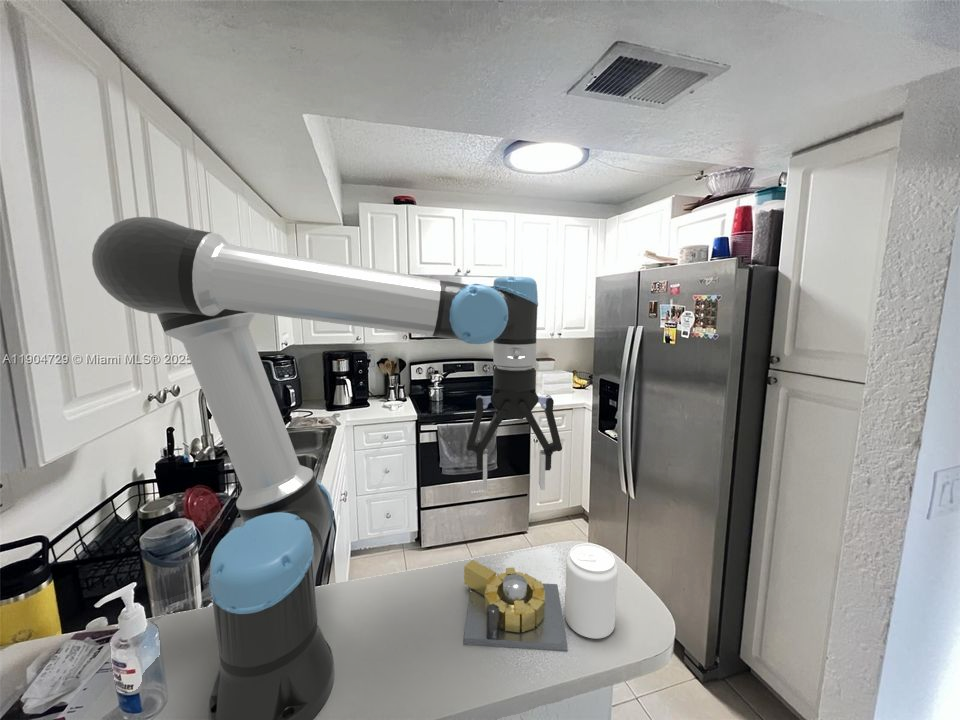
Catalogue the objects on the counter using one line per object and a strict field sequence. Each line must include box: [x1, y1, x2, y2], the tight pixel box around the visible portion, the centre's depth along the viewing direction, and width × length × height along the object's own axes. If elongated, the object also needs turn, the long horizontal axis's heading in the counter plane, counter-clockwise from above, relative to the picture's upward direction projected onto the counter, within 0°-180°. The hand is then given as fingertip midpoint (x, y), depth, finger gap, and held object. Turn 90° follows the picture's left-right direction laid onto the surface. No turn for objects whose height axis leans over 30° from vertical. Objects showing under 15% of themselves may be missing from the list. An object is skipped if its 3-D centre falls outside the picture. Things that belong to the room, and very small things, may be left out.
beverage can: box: [564, 542, 619, 640], centre depth 65 cm, size 8×8×12 cm
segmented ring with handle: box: [463, 559, 545, 632], centre depth 69 cm, size 16×10×4 cm, turn 51°
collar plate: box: [463, 574, 568, 652], centre depth 67 cm, size 16×13×6 cm
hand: (513, 485), depth 72 cm, fingers open, 10 cm apart
